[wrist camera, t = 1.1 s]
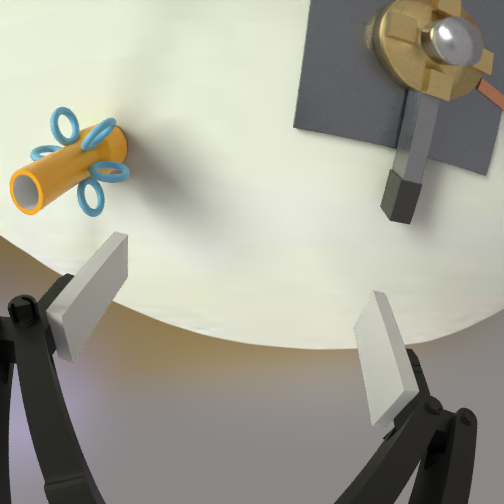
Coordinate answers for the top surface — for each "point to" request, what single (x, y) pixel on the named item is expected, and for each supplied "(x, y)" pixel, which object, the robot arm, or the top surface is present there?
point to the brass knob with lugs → (418, 91)
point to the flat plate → (388, 90)
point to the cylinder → (71, 165)
